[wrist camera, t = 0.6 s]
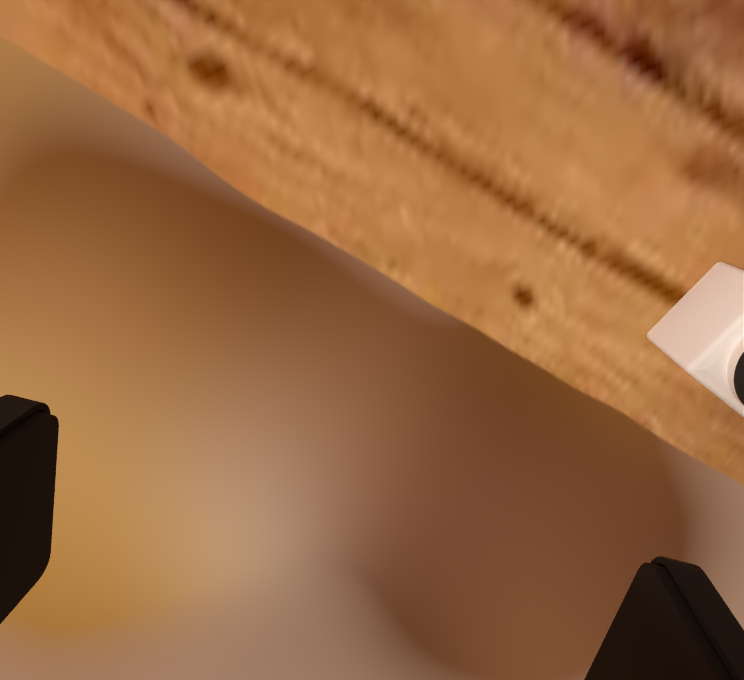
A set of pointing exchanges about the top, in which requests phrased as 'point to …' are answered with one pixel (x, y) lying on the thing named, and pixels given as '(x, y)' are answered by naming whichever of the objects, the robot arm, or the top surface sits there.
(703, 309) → the medicine bottle
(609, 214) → the top surface
